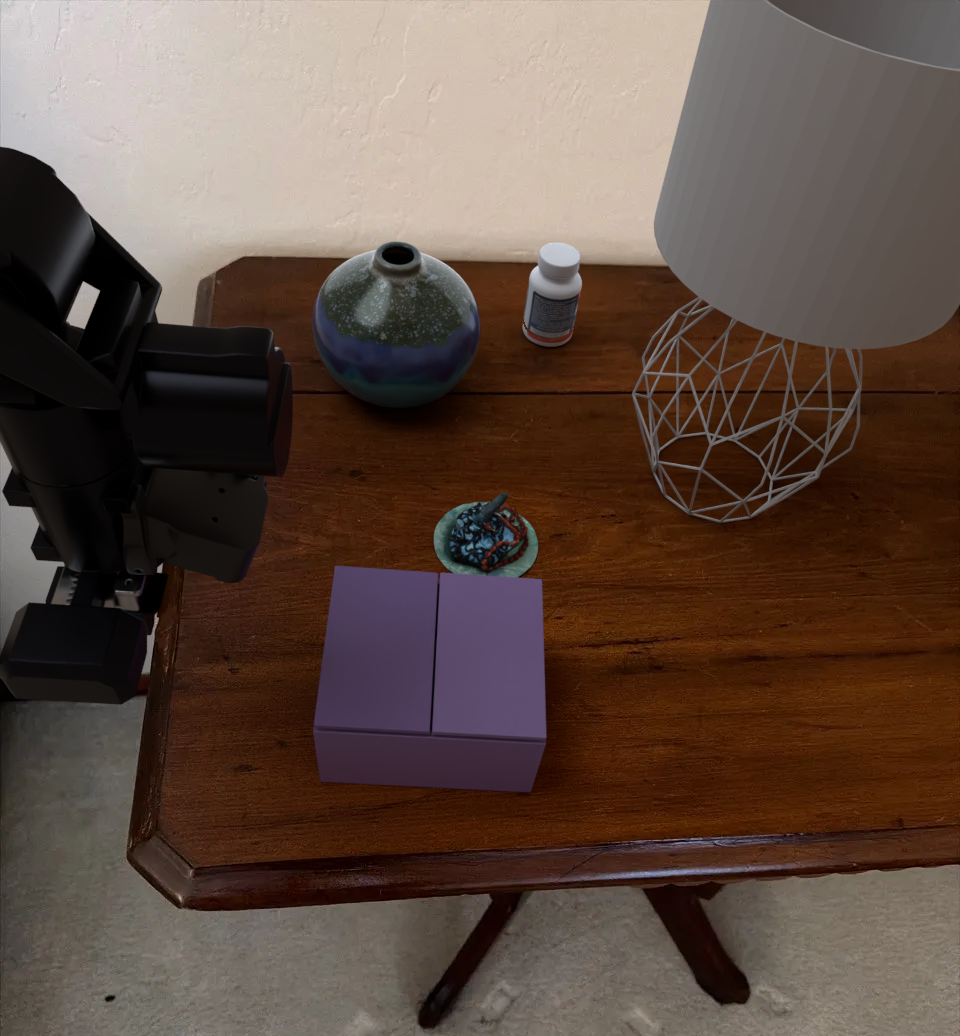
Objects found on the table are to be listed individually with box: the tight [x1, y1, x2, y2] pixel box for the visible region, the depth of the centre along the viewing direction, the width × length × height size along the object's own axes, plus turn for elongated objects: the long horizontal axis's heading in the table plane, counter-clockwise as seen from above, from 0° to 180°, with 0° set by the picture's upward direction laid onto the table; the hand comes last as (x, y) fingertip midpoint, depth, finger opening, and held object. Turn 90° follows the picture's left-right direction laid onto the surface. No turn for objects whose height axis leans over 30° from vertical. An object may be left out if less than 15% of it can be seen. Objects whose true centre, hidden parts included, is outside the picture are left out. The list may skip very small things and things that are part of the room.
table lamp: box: [631, 0, 960, 524], centre depth 68 cm, size 22×22×40 cm
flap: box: [313, 565, 439, 734], centre depth 62 cm, size 7×13×1 cm, turn 179°
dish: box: [433, 492, 539, 578], centre depth 78 cm, size 8×7×8 cm
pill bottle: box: [522, 242, 583, 348], centre depth 91 cm, size 5×5×9 cm
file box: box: [312, 572, 547, 793], centre depth 65 cm, size 15×13×8 cm
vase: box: [311, 240, 482, 409], centre depth 83 cm, size 15×15×13 cm
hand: (144, 630), depth 56 cm, fingers closed
